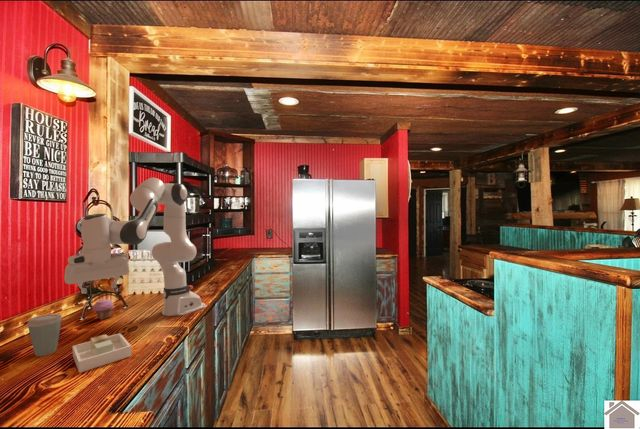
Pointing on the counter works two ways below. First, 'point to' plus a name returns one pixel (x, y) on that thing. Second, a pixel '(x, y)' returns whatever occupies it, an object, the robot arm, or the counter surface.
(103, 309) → the cupcake
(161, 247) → the robot arm
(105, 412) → the counter surface
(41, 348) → the disposable coffee cup
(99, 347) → the sage block
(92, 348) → the maple block
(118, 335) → the tray
